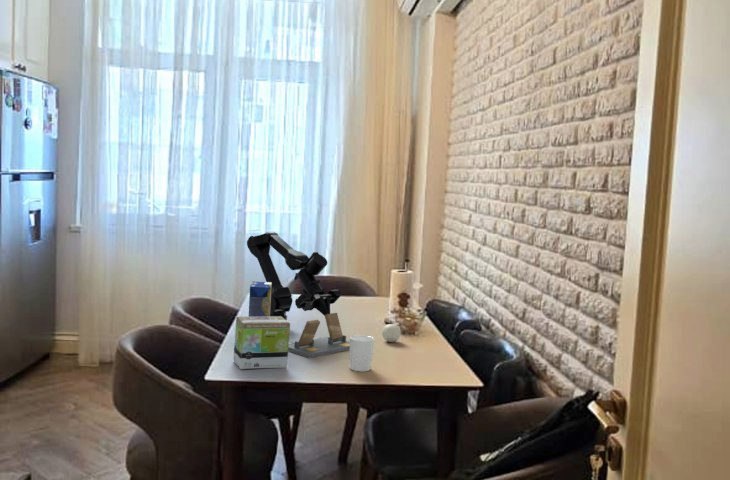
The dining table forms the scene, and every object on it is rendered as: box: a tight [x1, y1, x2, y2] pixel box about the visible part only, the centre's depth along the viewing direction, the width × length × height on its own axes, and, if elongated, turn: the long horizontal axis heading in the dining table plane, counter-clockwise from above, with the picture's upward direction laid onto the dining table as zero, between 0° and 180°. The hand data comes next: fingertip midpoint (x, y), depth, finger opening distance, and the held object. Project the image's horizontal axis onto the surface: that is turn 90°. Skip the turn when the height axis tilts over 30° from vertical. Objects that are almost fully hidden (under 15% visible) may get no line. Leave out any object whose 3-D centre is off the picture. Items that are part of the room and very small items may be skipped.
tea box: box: [233, 316, 291, 370], centre depth 222 cm, size 15×10×15 cm
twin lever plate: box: [288, 334, 350, 359], centre depth 248 cm, size 14×24×3 cm, turn 137°
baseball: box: [381, 323, 402, 343], centre depth 263 cm, size 7×7×7 cm
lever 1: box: [298, 319, 321, 347], centre depth 241 cm, size 1×5×10 cm, turn 137°
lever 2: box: [324, 312, 344, 342], centre depth 253 cm, size 1×5×10 cm, turn 137°
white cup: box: [348, 334, 375, 372], centre depth 225 cm, size 8×8×10 cm
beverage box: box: [248, 280, 272, 317], centre depth 242 cm, size 7×11×22 cm, turn 6°
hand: (329, 317), depth 254 cm, fingers closed
